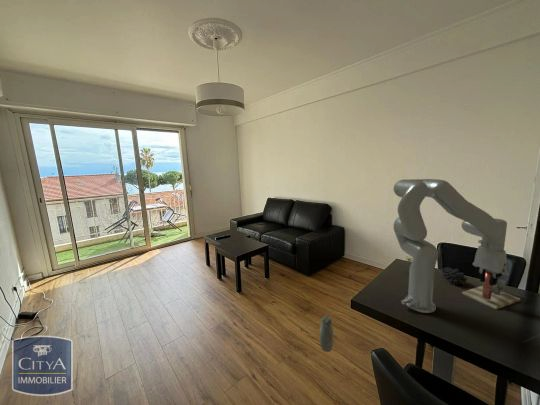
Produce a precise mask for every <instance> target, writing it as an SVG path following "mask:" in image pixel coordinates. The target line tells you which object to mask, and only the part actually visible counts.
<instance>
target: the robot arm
mask: <svg viewBox="0 0 540 405" xmlns="http://www.w3.org/2000/svg"><path fill="white" fill-rule="evenodd" d="M393 192H394V194H395V195H396V196H397V197H399V198H401V199H400V201H399V202H398V206H397V214H398V217H397V218H396V219H395V220H394V222H393V232H394V234H395V237H396V239H397V241H398V244H399V247H400V248H401V250H402V251H403V252H404V253H405V254H407V255H408V256H410V258H412V261H411V264H410V266H409V274H408V292H407V293H408V294H407V295H406V296H405V297H404V299H402V300H400V302H401V304H402V305H403V306H404V305H406V306H407V307H408V308H409V309H411V310H413V311H415V312H419V313H422V314H423V313H424V314H430V313H434V312H435V311H436V310H437V307H436V304H435V303H434V302H433V298H434V297H433V296H434V295H433V294H434V283H435V282H434V281H435V268H436V264H437V261H438V258H439V251H438V248H437V247H436V246H435V245H434V244H433V243H431V242H429V241H427V240H425V239H426V238H427V235H428V230H427V227H426V224H425V221H424V218H423V216H422V213H421V205H422V202H423V200H425V198H431V199H433V200H434V201H435V202H436V203H437V204H438V205H439V206H440V207H441V208H442V209H443V210H445V212H446V213H447V214H450V215H451V216H453V217H455V218H457V219H460V220H462V222H461V228H462V230H463V231H464V232H465V233H467V234H471V235H474V236H477V237H479V238H481V240H480V239H479V240H478V241H477V242H478V244H480V245H478V247H477V250H476V252H475V256H474V261H473V262H472V263H471V264H472V266H473V267H475V268H476V269H477V270H478V273H479V279H480V280H479V281H480V282H481V283H484V275H485V271H486V270H487V271H492V273H493V276H492V277H491V280H490V285H491V286H493V285H496V284H497V281H498V280H499V278H500V277H508V276H509V275H510V274H509V272H508V270H507V262H508V261H507V259H508V258H507V251H506V250H505V242H506V234H507V228H508V222H507V221H506V220H504V219H501V218H494V217H493V216H492V215H490V214H489V213H488V212H486V211H485V210H483V209H481V208H480V207H478V206H476V205H475V204H474V203H471V202H469V201H468V200H467V199H466V198H465V197H464V196H462V194H461V193H460V192H458V191H457V189H456V188H455V187H453V185H452V184H451V183H449V182H448V181H446V180H444V179H435V178H423V179H422V178H420V179H419V178H418V179H416V178H415V179H413V178H412V179H400V180H398V181H396V182H395V183H394V185H393Z"/></svg>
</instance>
